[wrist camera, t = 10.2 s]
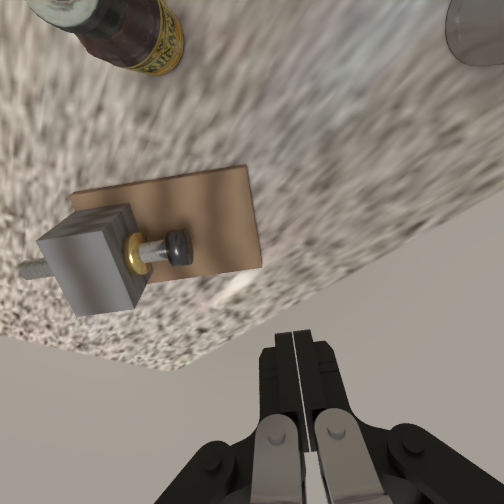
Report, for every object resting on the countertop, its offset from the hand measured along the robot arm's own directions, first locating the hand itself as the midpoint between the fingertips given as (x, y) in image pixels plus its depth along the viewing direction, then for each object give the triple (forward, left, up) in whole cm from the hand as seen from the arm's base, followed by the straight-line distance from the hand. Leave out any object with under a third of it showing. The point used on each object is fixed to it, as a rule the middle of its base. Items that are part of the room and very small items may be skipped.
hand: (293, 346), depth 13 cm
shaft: (+20, +6, -26) cm, 33 cm away
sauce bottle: (+9, -15, -30) cm, 34 cm away
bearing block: (+13, +6, -29) cm, 33 cm away
